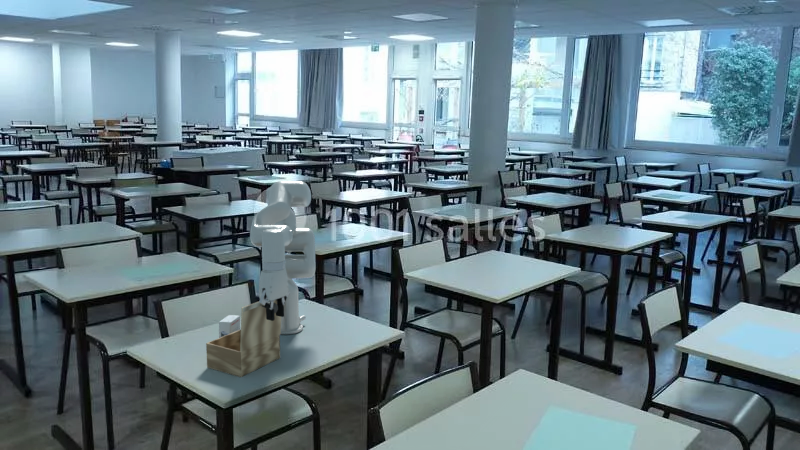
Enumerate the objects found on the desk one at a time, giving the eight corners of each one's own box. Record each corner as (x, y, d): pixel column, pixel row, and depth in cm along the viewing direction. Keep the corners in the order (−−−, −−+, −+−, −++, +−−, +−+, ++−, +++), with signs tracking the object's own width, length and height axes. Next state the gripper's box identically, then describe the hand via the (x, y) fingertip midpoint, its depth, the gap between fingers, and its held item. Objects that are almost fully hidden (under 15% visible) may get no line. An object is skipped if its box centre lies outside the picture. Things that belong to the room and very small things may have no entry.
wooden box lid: (281, 292, 225) (295, 297, 221) (279, 334, 228) (293, 339, 225) (241, 306, 208) (256, 311, 205) (240, 351, 212) (254, 356, 208)
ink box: (229, 343, 244) (228, 314, 242) (241, 344, 243) (240, 315, 241) (219, 351, 236) (217, 321, 234) (231, 352, 235) (230, 322, 233)
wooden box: (247, 349, 238) (247, 326, 236) (280, 358, 230) (279, 334, 228) (207, 367, 221) (206, 343, 219) (240, 377, 213) (239, 352, 211)
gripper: (282, 259, 220) (283, 310, 223) (247, 269, 206) (249, 322, 209) (298, 262, 217) (299, 313, 220) (264, 272, 202) (266, 326, 205)
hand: (275, 317), depth 214 cm, fingers closed on wooden box lid, 4 cm apart
